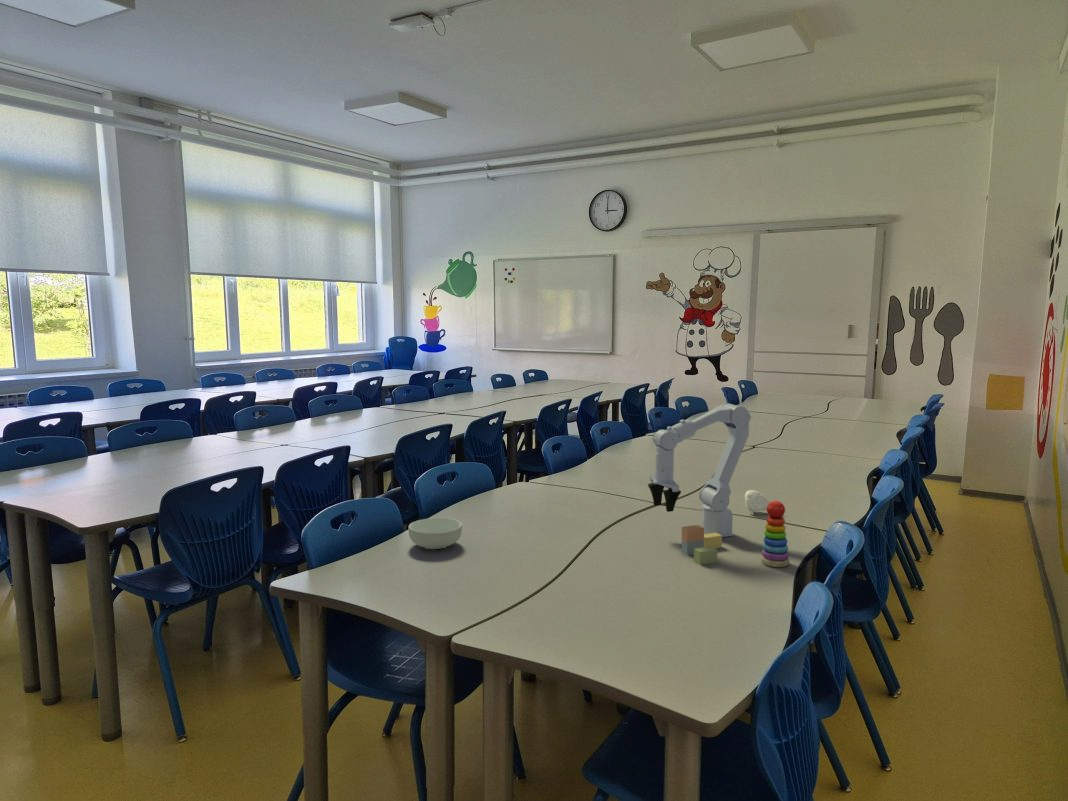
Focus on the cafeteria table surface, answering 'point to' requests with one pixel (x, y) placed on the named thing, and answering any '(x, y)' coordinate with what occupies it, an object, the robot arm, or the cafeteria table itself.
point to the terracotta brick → (692, 533)
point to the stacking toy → (775, 537)
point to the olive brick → (705, 555)
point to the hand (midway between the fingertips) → (663, 508)
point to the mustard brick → (713, 540)
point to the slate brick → (691, 546)
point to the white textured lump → (755, 501)
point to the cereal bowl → (435, 532)
